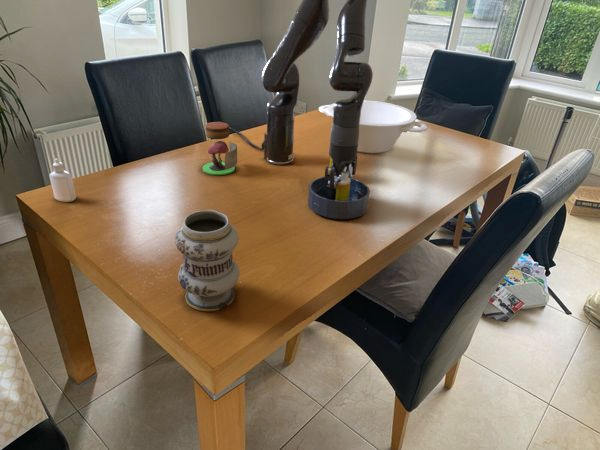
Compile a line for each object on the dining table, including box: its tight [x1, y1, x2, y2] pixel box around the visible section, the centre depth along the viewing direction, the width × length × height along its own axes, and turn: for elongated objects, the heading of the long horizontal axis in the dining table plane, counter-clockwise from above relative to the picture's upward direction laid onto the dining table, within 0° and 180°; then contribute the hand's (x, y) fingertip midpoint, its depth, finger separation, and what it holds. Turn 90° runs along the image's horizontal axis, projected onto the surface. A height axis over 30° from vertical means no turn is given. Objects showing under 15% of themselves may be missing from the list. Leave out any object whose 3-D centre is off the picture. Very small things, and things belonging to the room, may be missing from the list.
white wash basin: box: [318, 99, 428, 154], centre depth 173 cm, size 44×34×14 cm
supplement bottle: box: [334, 171, 351, 201], centre depth 127 cm, size 6×6×10 cm
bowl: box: [307, 176, 371, 220], centre depth 129 cm, size 17×17×6 cm
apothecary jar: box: [174, 209, 241, 312], centre depth 88 cm, size 12×12×18 cm
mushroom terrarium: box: [202, 121, 238, 176], centre depth 145 cm, size 12×13×15 cm
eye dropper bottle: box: [49, 158, 77, 203], centre depth 123 cm, size 4×6×12 cm
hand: (338, 195), depth 128 cm, fingers open, 7 cm apart
